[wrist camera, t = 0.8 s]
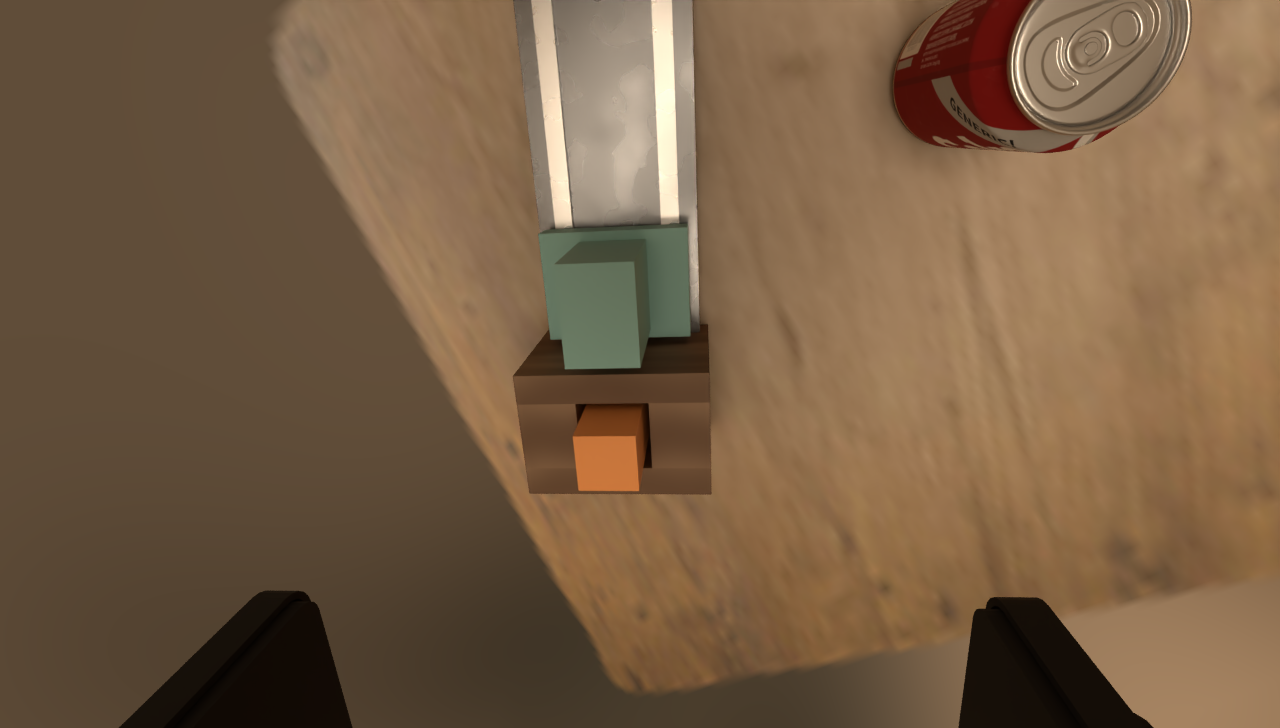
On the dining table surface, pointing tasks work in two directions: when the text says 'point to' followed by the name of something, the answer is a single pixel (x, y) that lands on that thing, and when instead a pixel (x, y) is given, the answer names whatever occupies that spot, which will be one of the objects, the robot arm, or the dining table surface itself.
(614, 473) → the plunger
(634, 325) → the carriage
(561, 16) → the rail track
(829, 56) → the dining table surface
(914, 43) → the soda can
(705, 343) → the cabinet
